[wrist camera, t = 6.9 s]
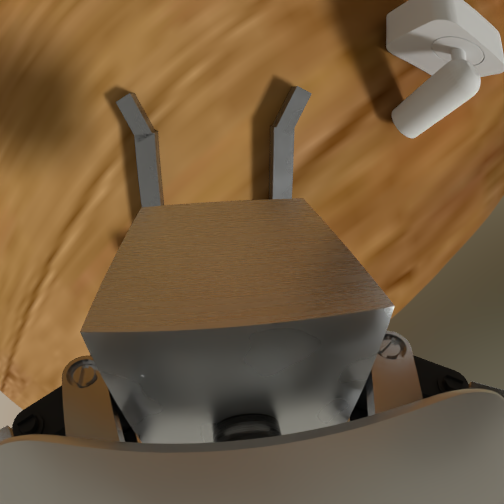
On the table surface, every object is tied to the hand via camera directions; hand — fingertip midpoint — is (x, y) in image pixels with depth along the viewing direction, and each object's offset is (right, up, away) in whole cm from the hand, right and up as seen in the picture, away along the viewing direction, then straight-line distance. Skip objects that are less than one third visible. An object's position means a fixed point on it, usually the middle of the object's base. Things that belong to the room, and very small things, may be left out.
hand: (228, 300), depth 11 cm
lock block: (0, 0, +1) cm, 1 cm away
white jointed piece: (+15, +18, +10) cm, 25 cm away
